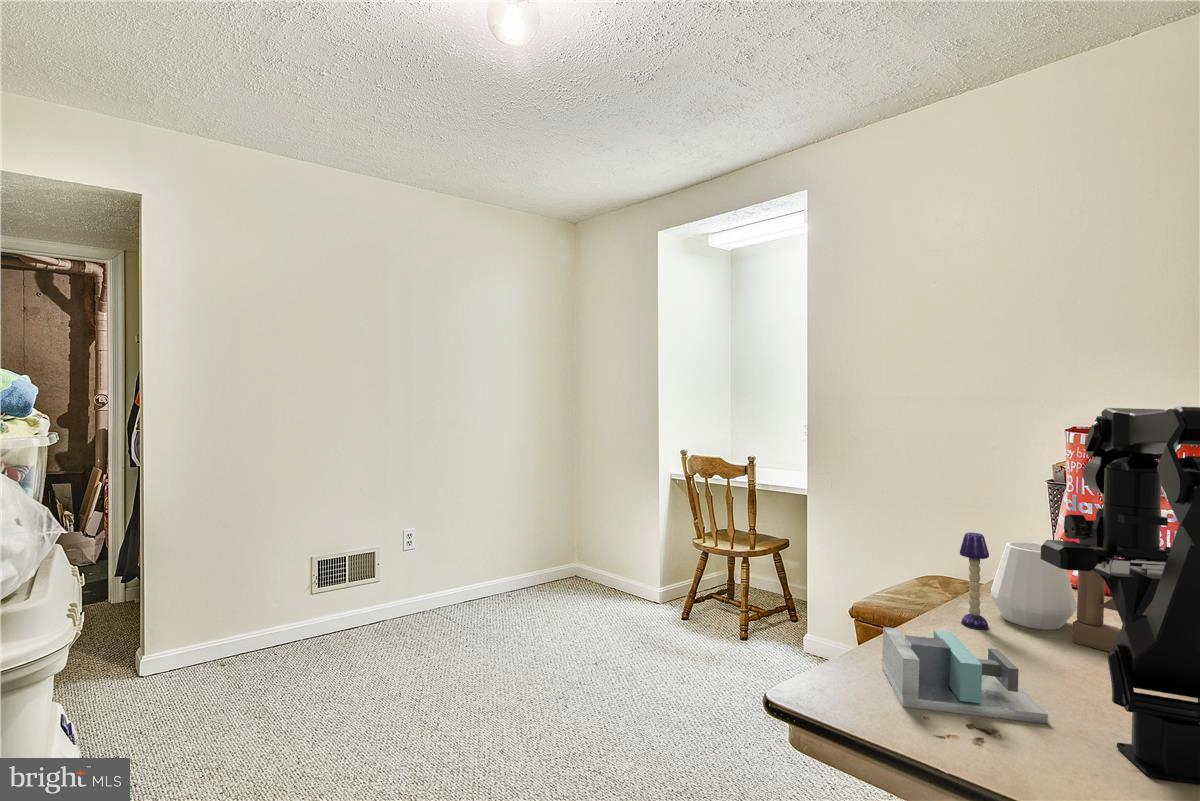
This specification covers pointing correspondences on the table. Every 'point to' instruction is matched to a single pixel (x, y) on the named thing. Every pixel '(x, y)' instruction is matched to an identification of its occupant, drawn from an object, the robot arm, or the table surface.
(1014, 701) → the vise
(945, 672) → the steel block
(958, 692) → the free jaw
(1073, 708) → the table surface
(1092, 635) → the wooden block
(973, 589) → the toy lamp
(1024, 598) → the white faceted vase
